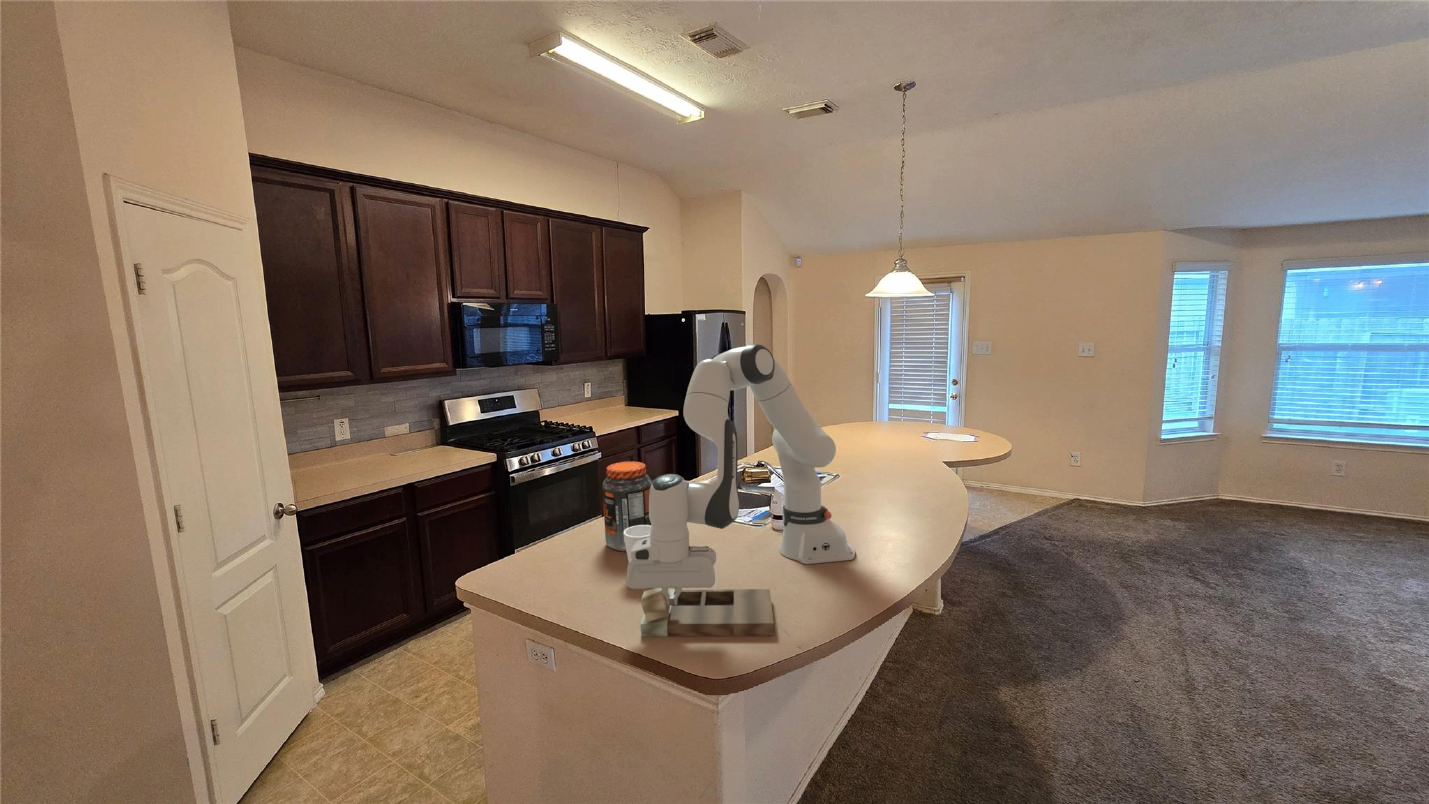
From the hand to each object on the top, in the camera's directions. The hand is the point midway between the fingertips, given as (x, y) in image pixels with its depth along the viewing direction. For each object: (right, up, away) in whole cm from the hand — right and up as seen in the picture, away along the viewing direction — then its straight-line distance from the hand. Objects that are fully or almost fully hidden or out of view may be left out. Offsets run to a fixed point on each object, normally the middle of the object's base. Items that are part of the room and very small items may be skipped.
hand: (672, 604), depth 126 cm
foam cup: (-11, -3, +28) cm, 30 cm away
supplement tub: (-18, 0, +52) cm, 55 cm away
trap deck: (+8, -5, +5) cm, 11 cm away
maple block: (-3, -2, 0) cm, 4 cm away
